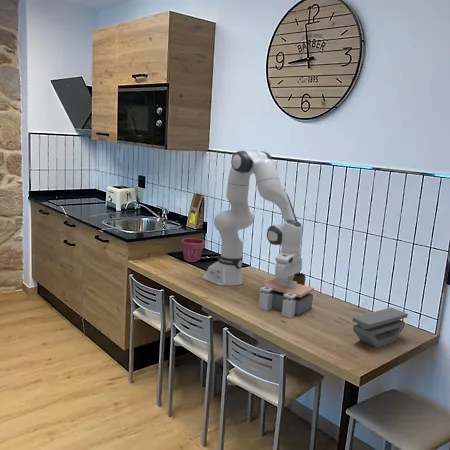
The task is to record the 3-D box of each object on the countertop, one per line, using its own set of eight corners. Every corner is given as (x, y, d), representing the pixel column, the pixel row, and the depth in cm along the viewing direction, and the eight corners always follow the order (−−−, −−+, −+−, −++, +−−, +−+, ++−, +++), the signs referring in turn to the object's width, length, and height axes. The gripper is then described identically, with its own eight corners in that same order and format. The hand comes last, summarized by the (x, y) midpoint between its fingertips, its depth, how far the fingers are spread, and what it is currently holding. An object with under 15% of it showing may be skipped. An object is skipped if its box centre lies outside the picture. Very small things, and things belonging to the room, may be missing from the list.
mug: (289, 296, 239) (290, 278, 238) (279, 291, 246) (281, 274, 244) (306, 293, 246) (308, 276, 244) (297, 289, 252) (298, 271, 250)
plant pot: (205, 264, 286) (207, 243, 284) (182, 264, 282) (184, 243, 280) (200, 257, 299) (201, 237, 297) (178, 257, 295) (179, 237, 293)
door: (256, 289, 219) (257, 280, 219) (276, 280, 234) (277, 272, 234) (295, 299, 208) (296, 290, 207) (314, 290, 223) (314, 281, 222)
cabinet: (255, 307, 222) (257, 287, 220) (274, 297, 236) (276, 279, 234) (293, 319, 210) (296, 298, 209) (311, 308, 225) (313, 289, 223)
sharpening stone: (365, 351, 183) (369, 324, 181) (349, 343, 189) (352, 317, 187) (404, 338, 198) (407, 313, 196) (387, 331, 204) (391, 307, 202)
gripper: (294, 250, 230) (292, 278, 232) (273, 258, 213) (270, 287, 216) (306, 253, 226) (303, 281, 229) (286, 261, 210) (283, 291, 212)
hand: (287, 284), depth 222 cm, fingers closed on door, 2 cm apart
